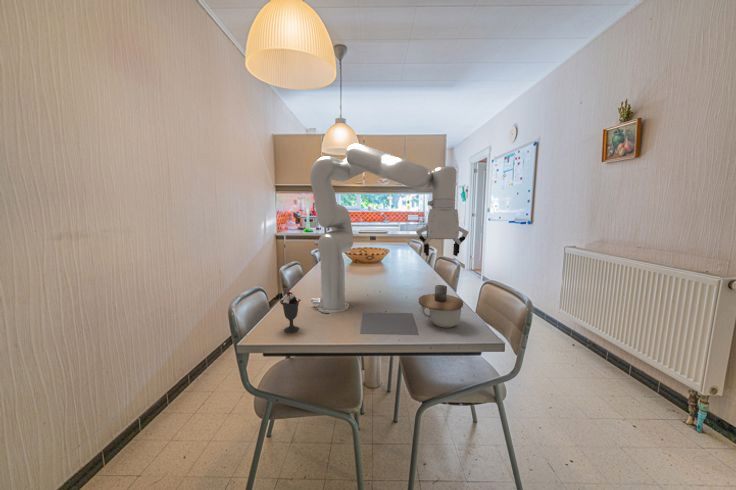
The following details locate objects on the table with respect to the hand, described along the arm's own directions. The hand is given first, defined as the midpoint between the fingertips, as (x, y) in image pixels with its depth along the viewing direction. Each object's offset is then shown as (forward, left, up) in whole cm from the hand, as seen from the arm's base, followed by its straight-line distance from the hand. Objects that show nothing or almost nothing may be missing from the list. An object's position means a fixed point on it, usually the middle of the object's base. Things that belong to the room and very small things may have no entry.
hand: (441, 255), depth 98 cm
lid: (0, 0, -17) cm, 17 cm away
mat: (-18, 0, -25) cm, 30 cm away
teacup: (0, 0, -25) cm, 25 cm away
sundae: (-51, -6, -25) cm, 57 cm away
